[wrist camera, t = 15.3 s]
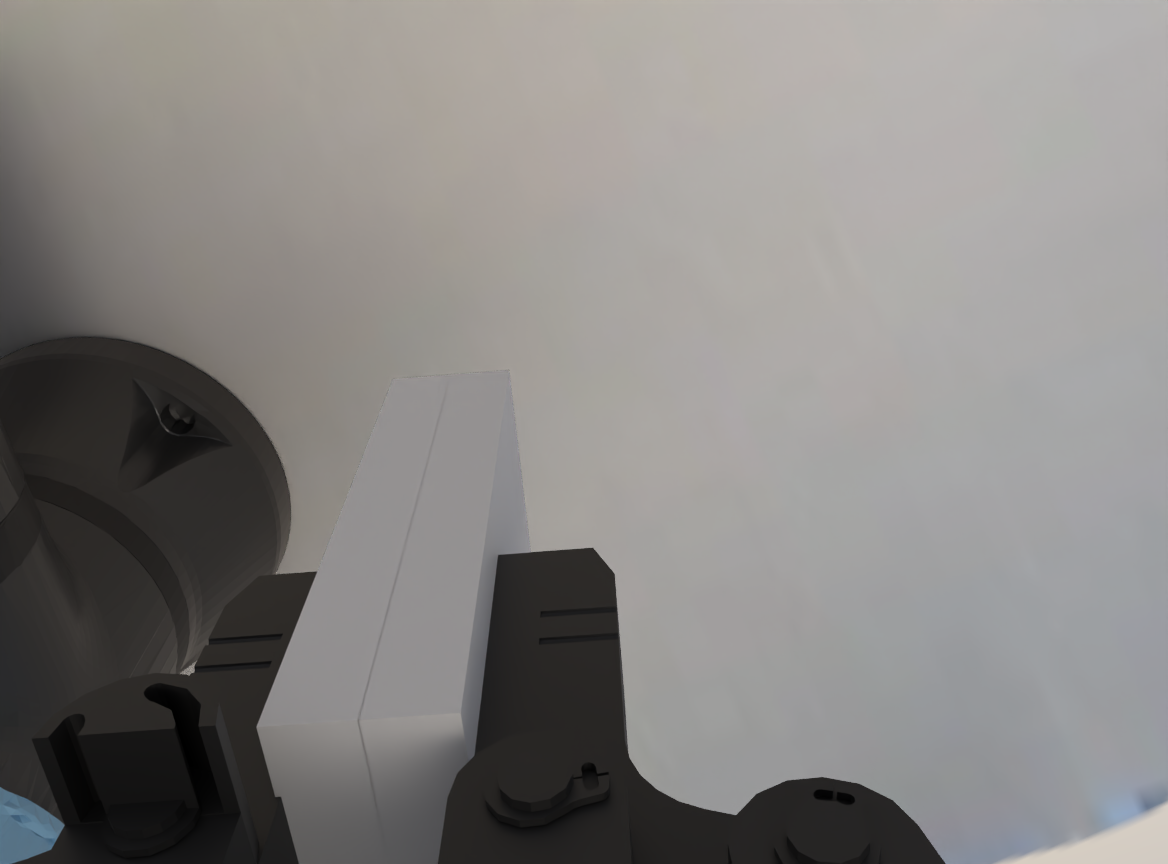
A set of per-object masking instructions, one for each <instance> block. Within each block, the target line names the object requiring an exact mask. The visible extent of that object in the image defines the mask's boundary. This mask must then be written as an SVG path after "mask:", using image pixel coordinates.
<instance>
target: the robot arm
mask: <svg viewBox="0 0 1168 864" xmlns="http://www.w3.org/2000/svg"><path fill="white" fill-rule="evenodd" d="M290 522H291V506H290V496H289V491H288V485H287V482H286V478H285V474H284V471H283V468H282V466H281V463H280V461H279V458H278V456H277V454H276V452H275V450H274V448H273V446H272V444H271V442H270V440H269V439H268V437H267V436H266V434H265V433H264V431H263V429H262V428H261V427H260V425H259V424H258V423H257V421H256V420H255V419H254V418H253V416H252V415H251V414H250V413H249V412H248V411H247V409H246V408H245V407H244V406H243V405H242V404H241V403H240V402H239V401H238V400H237V399H236V398H235V397H234V396H233V395H231V394H230V393H229V392H228V391H227V390H226V389H225V388H223V387H222V386H221V385H219V384H218V383H217V382H216V381H214V380H213V379H211V378H210V377H208V376H207V375H206V374H204V373H202V372H201V371H199V370H197V369H196V368H194V367H192V366H191V365H189V364H187V363H185V362H183V361H181V360H179V359H177V358H175V357H172V356H170V355H168V354H165V353H163V352H160V351H157V350H155V349H152V348H148V347H145V346H142V345H138V344H134V343H130V342H125V341H119V340H113V339H104V338H84V337H83V338H66V339H57V340H52V341H47V342H42V343H38V344H35V345H31V346H28V347H26V348H23V349H20V350H18V351H16V352H13V353H11V354H9V355H7V356H5V357H4V358H2V359H0V864H945V862H944V861H943V860H942V858H941V857H940V855H939V854H938V853H937V851H936V850H935V848H934V847H933V846H932V844H931V843H930V841H929V840H928V839H927V837H926V836H925V834H924V833H923V832H922V830H921V829H920V827H919V826H918V825H917V824H916V823H915V822H914V821H913V820H912V819H911V818H910V817H909V816H908V815H907V814H906V813H905V812H904V811H903V810H902V809H901V808H900V807H899V806H898V805H897V804H896V803H895V802H894V801H893V800H891V799H889V798H887V797H885V796H883V795H881V794H879V793H877V792H875V791H873V790H870V789H868V788H866V787H864V786H862V785H860V784H857V783H851V782H846V781H841V780H835V779H830V778H824V777H819V778H809V779H799V780H789V781H785V782H783V783H781V784H778V785H776V786H774V787H771V788H769V789H767V790H765V791H762V792H760V793H758V794H756V795H755V796H754V797H753V798H752V799H751V800H750V802H749V803H748V804H747V805H746V806H745V807H744V808H743V809H742V810H741V811H740V812H739V813H738V814H737V815H731V814H726V813H721V812H716V811H711V810H706V809H702V808H699V807H696V806H692V805H689V804H685V803H682V802H679V801H677V800H675V799H673V798H671V797H669V796H668V795H666V794H664V793H662V792H660V791H658V790H657V789H655V788H654V787H653V786H652V785H651V784H650V783H649V782H648V781H646V780H645V779H644V778H643V777H642V776H641V775H640V774H639V772H638V771H637V769H636V768H635V766H634V765H633V763H632V761H631V760H630V758H629V754H628V745H627V730H626V715H625V700H624V685H623V673H622V661H621V648H620V636H619V623H618V611H617V598H616V586H615V574H614V573H613V571H612V570H611V569H610V568H609V567H608V565H607V564H606V563H605V562H604V561H603V559H602V558H601V557H600V556H599V555H598V553H597V552H596V551H595V550H594V549H593V548H584V549H571V550H557V551H543V552H531V549H530V541H529V532H528V524H527V516H526V507H525V499H524V491H523V482H522V474H521V465H520V457H519V449H518V440H517V432H516V423H515V415H514V407H513V398H512V390H511V381H510V373H509V370H501V371H488V372H475V373H463V374H450V375H437V376H424V377H412V378H399V379H393V380H392V382H391V385H390V387H389V390H388V392H387V395H386V398H385V400H384V403H383V405H382V408H381V410H380V413H379V415H378V418H377V421H376V423H375V426H374V428H373V431H372V433H371V436H370V438H369V441H368V443H367V446H366V449H365V451H364V454H363V456H362V459H361V461H360V464H359V466H358V469H357V472H356V474H355V477H354V479H353V482H352V484H351V487H350V489H349V492H348V495H347V497H346V500H345V502H344V505H343V507H342V510H341V512H340V515H339V518H338V520H337V523H336V525H335V528H334V530H333V533H332V535H331V538H330V541H329V543H328V546H327V548H326V551H325V553H324V556H323V558H322V561H321V563H320V566H319V569H318V571H317V572H304V573H291V574H277V575H275V574H276V572H277V569H278V567H279V565H280V563H281V561H282V558H283V555H284V553H285V550H286V546H287V542H288V538H289V532H290ZM195 661H197V662H196V664H195V666H194V667H195V673H191V674H190V676H188V675H183V674H180V673H181V672H182V671H184V670H185V669H186V668H188V667H189V666H190V665H192V664H193V663H194V662H195Z"/></svg>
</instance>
